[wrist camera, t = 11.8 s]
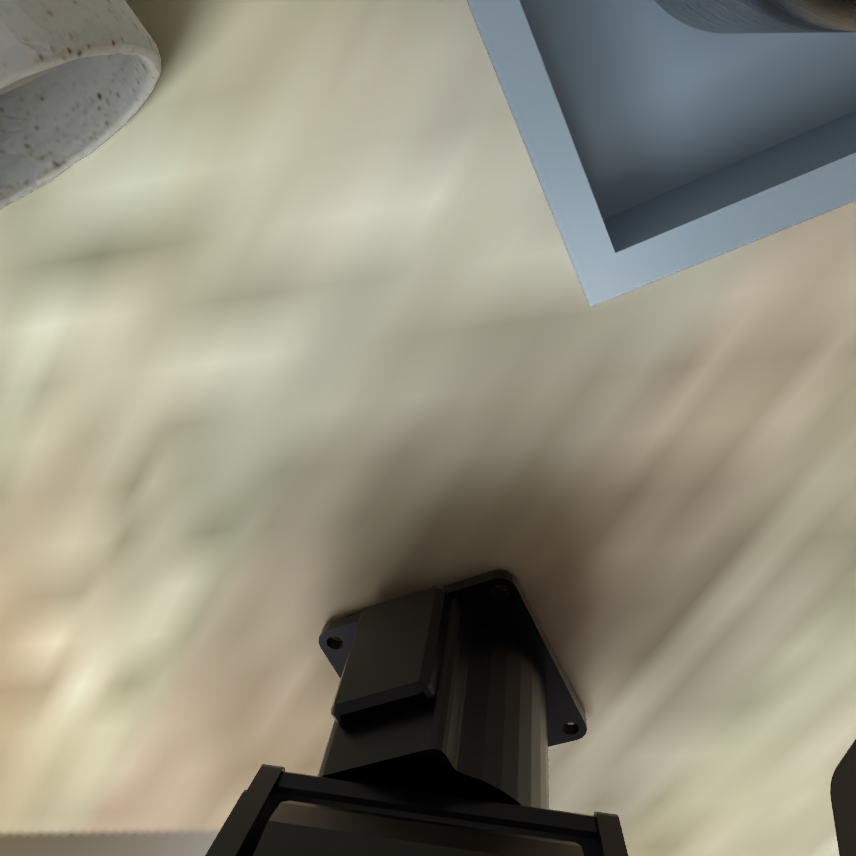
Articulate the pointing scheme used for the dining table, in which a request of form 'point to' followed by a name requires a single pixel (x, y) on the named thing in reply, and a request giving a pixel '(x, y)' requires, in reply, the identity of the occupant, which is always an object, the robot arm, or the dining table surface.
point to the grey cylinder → (66, 84)
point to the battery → (764, 15)
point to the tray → (671, 130)
